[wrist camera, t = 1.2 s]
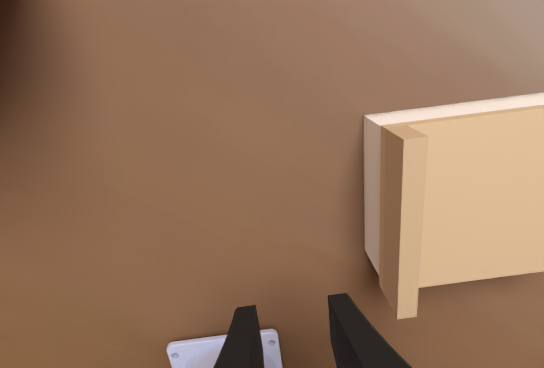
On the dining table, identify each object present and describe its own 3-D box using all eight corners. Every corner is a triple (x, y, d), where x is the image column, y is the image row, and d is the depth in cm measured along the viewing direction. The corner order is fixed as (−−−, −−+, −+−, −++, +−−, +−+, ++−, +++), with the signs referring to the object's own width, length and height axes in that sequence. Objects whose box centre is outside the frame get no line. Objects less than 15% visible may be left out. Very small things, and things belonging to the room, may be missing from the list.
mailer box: (556, 90, 19) (607, 98, 16) (527, 228, 23) (566, 254, 20) (363, 115, 19) (382, 127, 16) (364, 249, 23) (380, 278, 20)
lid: (619, 94, 16) (683, 103, 14) (573, 259, 20) (618, 289, 17) (380, 125, 16) (403, 139, 14) (379, 285, 20) (396, 319, 17)
